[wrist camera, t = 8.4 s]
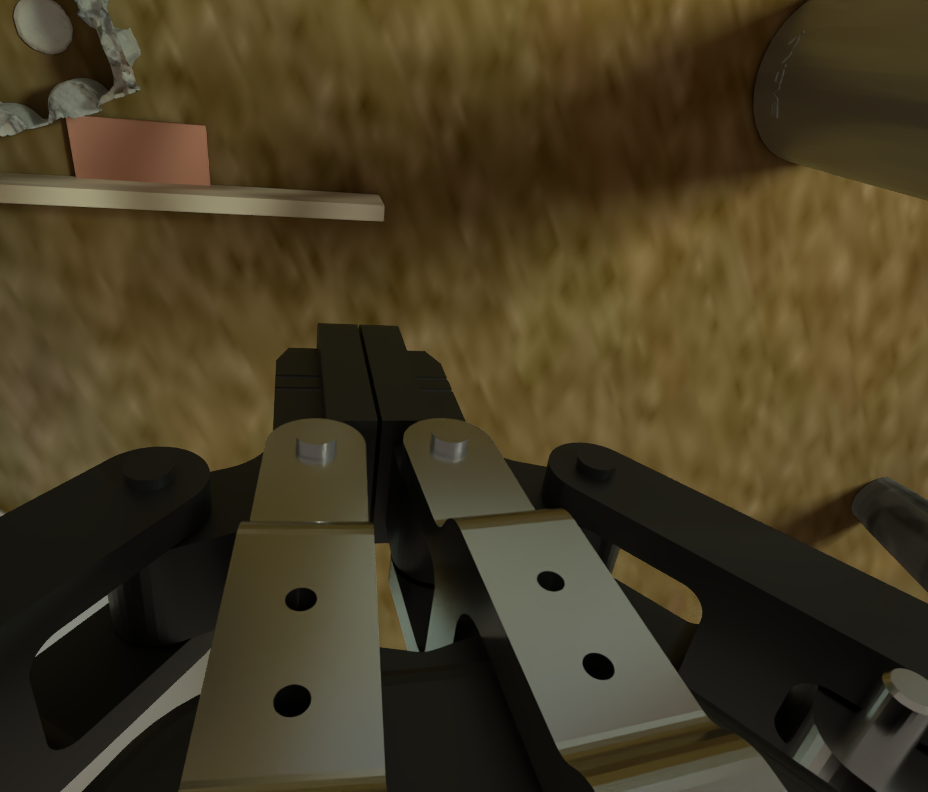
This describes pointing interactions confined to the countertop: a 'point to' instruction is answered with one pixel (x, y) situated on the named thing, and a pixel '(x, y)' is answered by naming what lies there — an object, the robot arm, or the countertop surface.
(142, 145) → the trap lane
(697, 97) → the countertop surface
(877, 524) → the beverage cup
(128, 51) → the egg carton
